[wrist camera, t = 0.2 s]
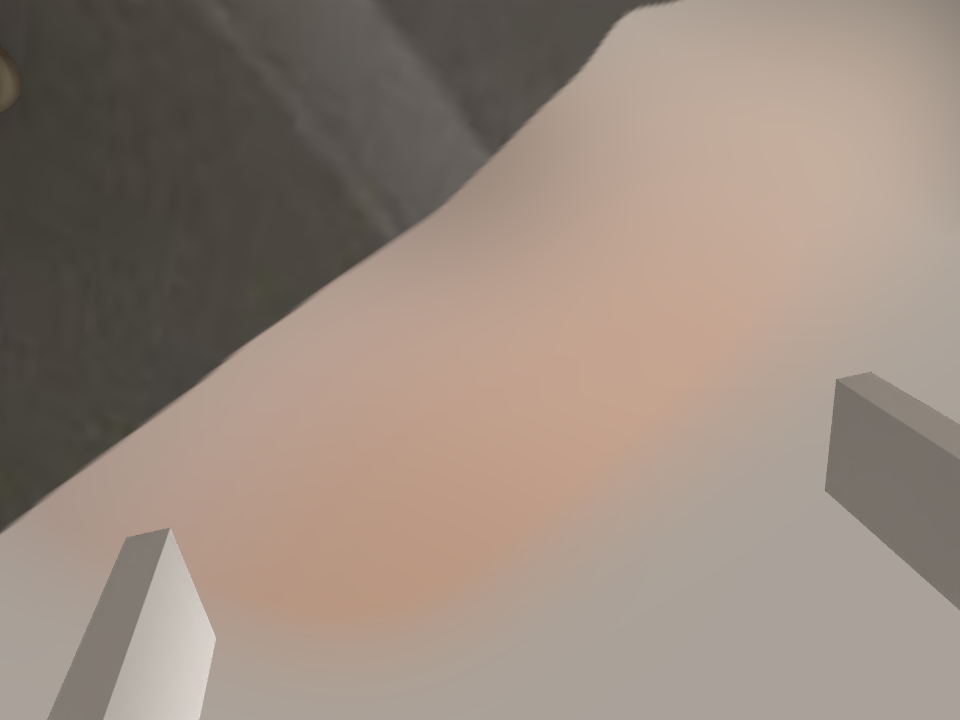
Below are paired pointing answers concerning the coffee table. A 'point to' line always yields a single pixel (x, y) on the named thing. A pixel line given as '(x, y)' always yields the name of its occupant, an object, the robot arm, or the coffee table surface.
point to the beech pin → (8, 81)
